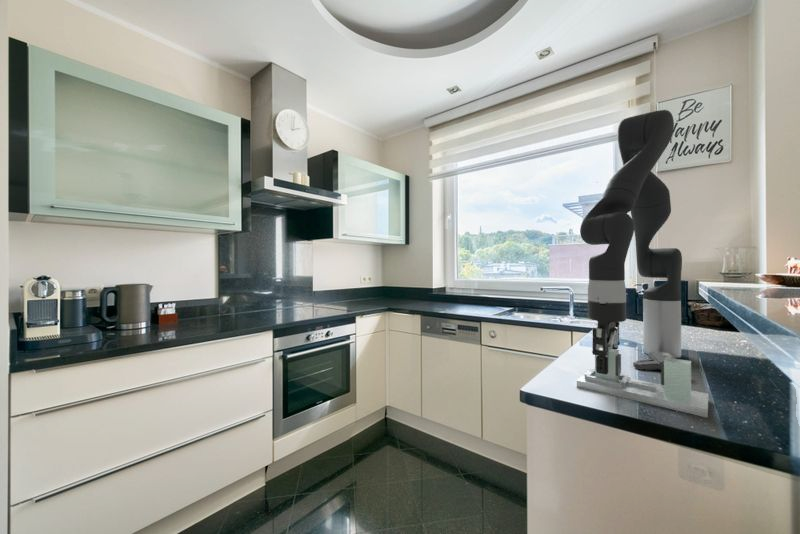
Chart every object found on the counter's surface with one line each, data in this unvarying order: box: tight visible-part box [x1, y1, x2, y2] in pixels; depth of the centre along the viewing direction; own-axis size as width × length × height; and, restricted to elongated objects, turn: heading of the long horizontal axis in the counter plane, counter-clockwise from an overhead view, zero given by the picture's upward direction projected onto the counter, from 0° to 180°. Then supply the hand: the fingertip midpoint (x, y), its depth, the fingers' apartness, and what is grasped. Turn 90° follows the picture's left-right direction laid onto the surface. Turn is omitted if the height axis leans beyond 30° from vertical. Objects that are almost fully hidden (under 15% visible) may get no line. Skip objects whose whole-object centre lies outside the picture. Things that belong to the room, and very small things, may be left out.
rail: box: [576, 357, 709, 418], centre depth 70 cm, size 10×22×8 cm, turn 45°
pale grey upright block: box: [594, 348, 622, 381], centre depth 74 cm, size 4×4×7 cm
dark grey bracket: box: [632, 352, 676, 371], centre depth 88 cm, size 4×16×10 cm
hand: (606, 368), depth 75 cm, fingers open, 8 cm apart
